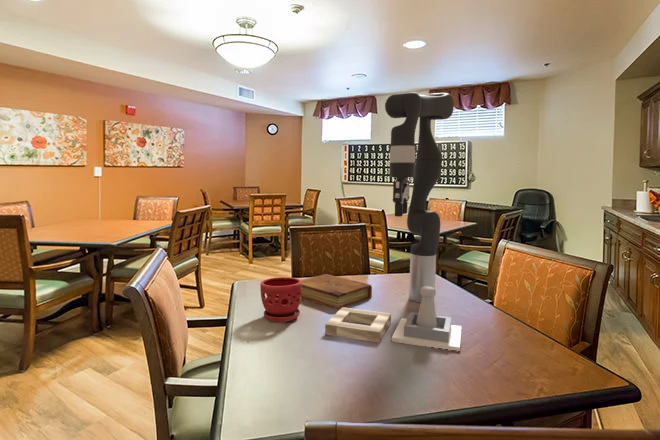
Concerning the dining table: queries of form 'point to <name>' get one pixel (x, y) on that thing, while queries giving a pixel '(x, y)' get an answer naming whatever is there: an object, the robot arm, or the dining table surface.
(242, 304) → the dining table surface
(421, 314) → the salt shaker
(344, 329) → the birch holder block
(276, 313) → the plant pot
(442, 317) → the socket plate
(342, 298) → the diary
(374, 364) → the dining table surface
